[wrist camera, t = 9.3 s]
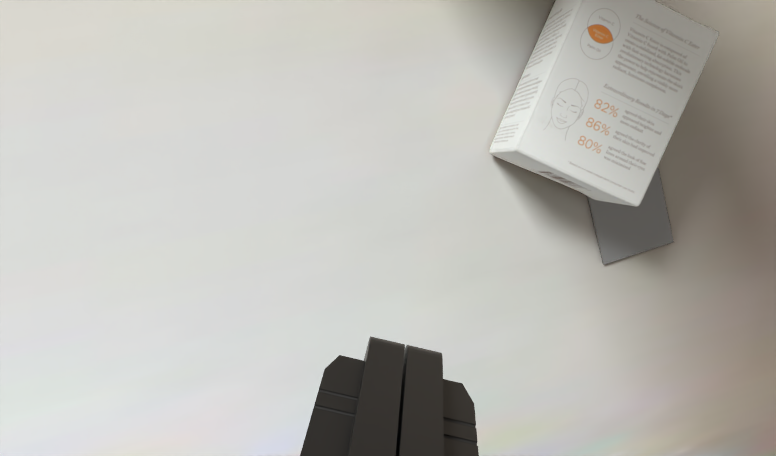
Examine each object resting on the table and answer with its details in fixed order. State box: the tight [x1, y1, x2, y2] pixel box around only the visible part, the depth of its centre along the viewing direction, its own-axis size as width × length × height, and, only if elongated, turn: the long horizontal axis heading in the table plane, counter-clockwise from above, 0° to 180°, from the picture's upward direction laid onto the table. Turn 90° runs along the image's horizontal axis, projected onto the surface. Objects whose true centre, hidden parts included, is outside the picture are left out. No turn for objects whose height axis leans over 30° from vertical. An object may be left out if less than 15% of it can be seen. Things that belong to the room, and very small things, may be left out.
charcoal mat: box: [587, 167, 673, 264], centre depth 37 cm, size 11×5×1 cm, turn 16°
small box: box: [489, 0, 719, 207], centre depth 33 cm, size 8×6×10 cm
